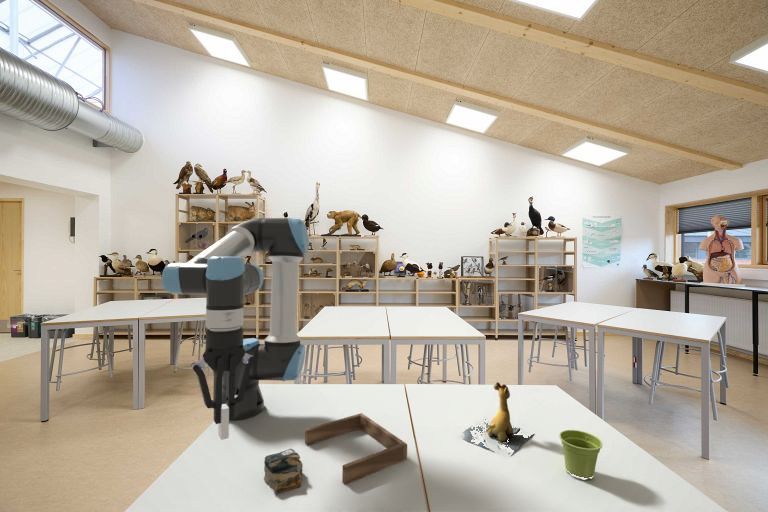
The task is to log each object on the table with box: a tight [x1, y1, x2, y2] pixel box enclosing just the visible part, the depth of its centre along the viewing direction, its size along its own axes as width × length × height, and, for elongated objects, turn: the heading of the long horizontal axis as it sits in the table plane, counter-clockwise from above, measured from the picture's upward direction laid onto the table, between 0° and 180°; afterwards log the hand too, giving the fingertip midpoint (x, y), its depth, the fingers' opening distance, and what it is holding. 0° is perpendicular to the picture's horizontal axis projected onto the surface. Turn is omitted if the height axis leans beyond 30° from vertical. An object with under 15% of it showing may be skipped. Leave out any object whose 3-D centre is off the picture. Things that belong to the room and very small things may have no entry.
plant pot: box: [558, 429, 603, 478], centre depth 93 cm, size 9×9×9 cm
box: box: [304, 412, 408, 485], centre depth 101 cm, size 22×19×4 cm
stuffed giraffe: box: [462, 381, 530, 454], centre depth 111 cm, size 16×18×16 cm
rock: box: [263, 448, 303, 495], centre depth 88 cm, size 9×9×6 cm
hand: (223, 436), depth 81 cm, fingers closed
